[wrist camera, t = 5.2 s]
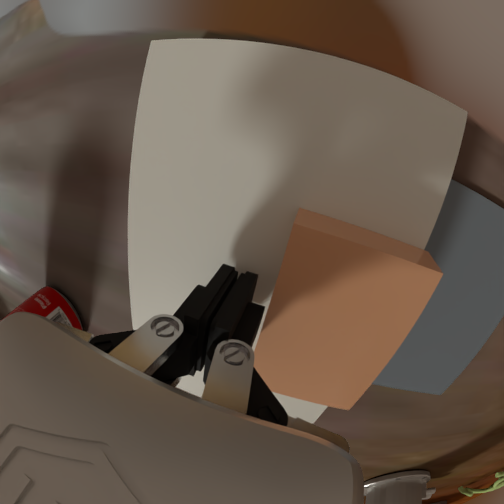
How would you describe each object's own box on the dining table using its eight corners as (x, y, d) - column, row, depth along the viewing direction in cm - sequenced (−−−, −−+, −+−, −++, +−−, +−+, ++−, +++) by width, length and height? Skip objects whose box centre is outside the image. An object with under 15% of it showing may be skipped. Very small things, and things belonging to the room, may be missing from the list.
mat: (540, 235, 10) (543, 236, 10) (440, 392, 18) (440, 394, 18) (424, 166, 12) (426, 167, 12) (329, 371, 19) (329, 374, 19)
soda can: (93, 318, 25) (2, 410, 12) (83, 347, 29) (14, 423, 16) (48, 269, 24) (-46, 342, 11) (44, 305, 28) (-29, 370, 15)
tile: (428, 251, 10) (443, 273, 8) (349, 383, 14) (348, 410, 12) (299, 207, 11) (293, 223, 9) (253, 357, 15) (243, 382, 13)
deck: (434, 115, 11) (467, 112, 7) (313, 391, 21) (307, 429, 17) (189, 56, 13) (151, 40, 9) (161, 338, 23) (138, 368, 19)
